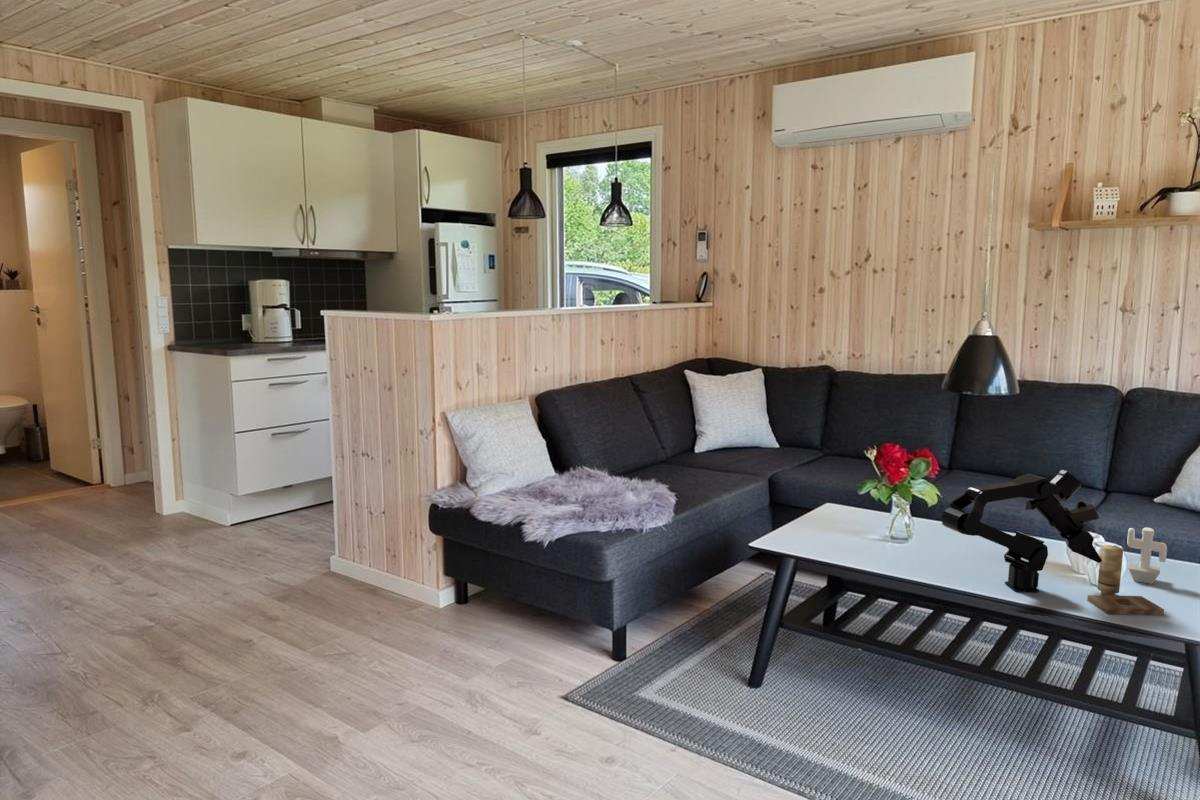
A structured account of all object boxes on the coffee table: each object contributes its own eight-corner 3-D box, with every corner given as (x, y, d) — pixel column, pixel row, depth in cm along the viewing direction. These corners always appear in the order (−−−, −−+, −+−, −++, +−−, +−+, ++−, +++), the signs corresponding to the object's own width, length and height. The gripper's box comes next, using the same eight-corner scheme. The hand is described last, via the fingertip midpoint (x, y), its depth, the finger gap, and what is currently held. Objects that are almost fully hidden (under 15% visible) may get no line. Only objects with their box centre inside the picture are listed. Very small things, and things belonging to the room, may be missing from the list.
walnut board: (1107, 614, 206) (1108, 608, 206) (1087, 600, 215) (1087, 595, 215) (1163, 615, 206) (1164, 609, 206) (1140, 601, 215) (1141, 596, 215)
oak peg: (1103, 598, 217) (1108, 551, 215) (1092, 591, 222) (1097, 545, 220) (1122, 598, 217) (1127, 551, 215) (1111, 591, 222) (1116, 545, 220)
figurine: (1163, 587, 226) (1168, 534, 224) (1122, 580, 231) (1127, 528, 229) (1163, 579, 231) (1169, 528, 229) (1124, 572, 237) (1129, 522, 235)
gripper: (1087, 502, 211) (1132, 548, 208) (1072, 486, 228) (1114, 528, 226) (1050, 528, 214) (1094, 574, 212) (1038, 510, 232) (1079, 553, 230)
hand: (1096, 556), depth 220 cm, fingers open, 9 cm apart
